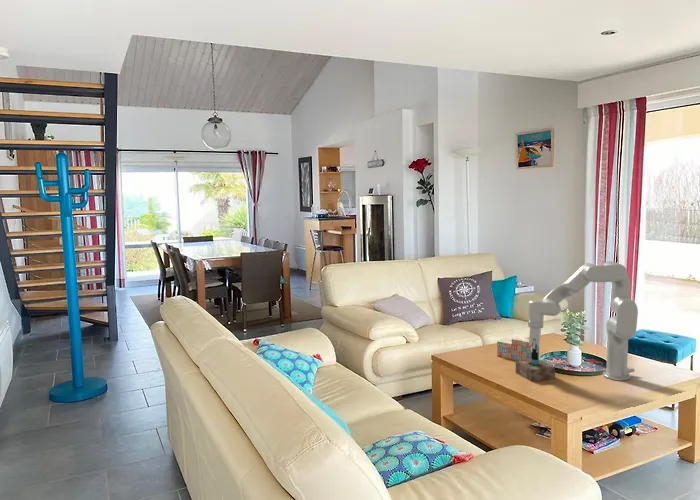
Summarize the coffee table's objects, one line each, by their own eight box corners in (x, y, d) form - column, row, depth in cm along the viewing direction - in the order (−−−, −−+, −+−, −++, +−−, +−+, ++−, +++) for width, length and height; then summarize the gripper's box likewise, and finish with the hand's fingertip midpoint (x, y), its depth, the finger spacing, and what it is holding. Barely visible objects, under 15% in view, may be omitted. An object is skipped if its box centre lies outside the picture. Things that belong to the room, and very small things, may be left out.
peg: (535, 364, 280) (536, 342, 279) (540, 366, 277) (540, 344, 275) (529, 365, 279) (529, 342, 278) (533, 367, 276) (534, 344, 274)
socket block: (538, 369, 287) (538, 359, 286) (554, 378, 274) (555, 367, 273) (515, 372, 283) (515, 361, 283) (531, 381, 270) (531, 370, 269)
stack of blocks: (496, 356, 312) (497, 336, 311) (501, 354, 317) (502, 333, 315) (531, 363, 298) (532, 342, 296) (536, 361, 302) (536, 340, 301)
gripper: (529, 319, 285) (529, 353, 287) (526, 327, 270) (525, 362, 272) (544, 321, 282) (544, 354, 283) (541, 328, 266) (541, 363, 268)
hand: (535, 357), depth 277 cm, fingers closed on peg, 4 cm apart
